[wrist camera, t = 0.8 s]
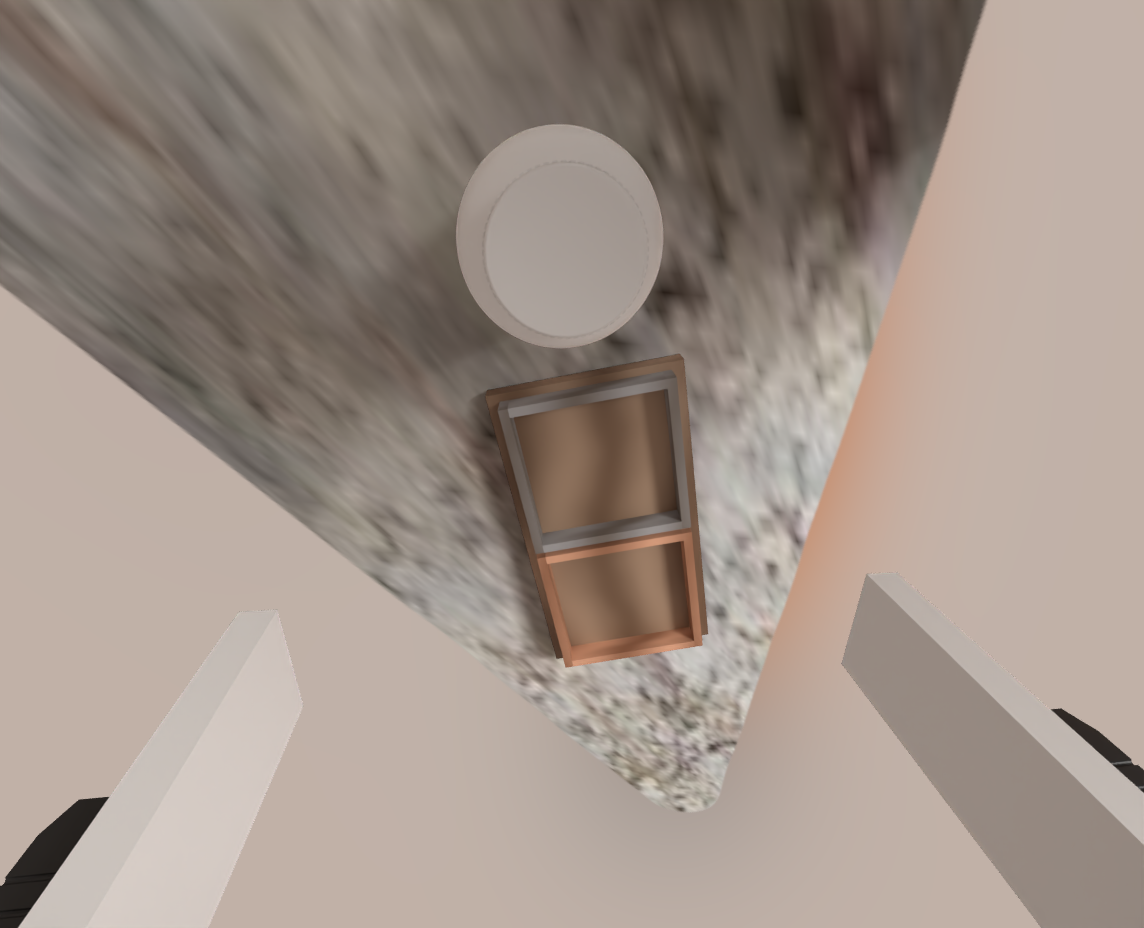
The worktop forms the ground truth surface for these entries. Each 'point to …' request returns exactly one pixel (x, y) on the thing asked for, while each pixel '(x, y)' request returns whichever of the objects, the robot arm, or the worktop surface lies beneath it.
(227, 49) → the worktop surface
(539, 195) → the pill bottle
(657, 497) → the compartment tray
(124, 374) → the worktop surface
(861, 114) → the worktop surface
